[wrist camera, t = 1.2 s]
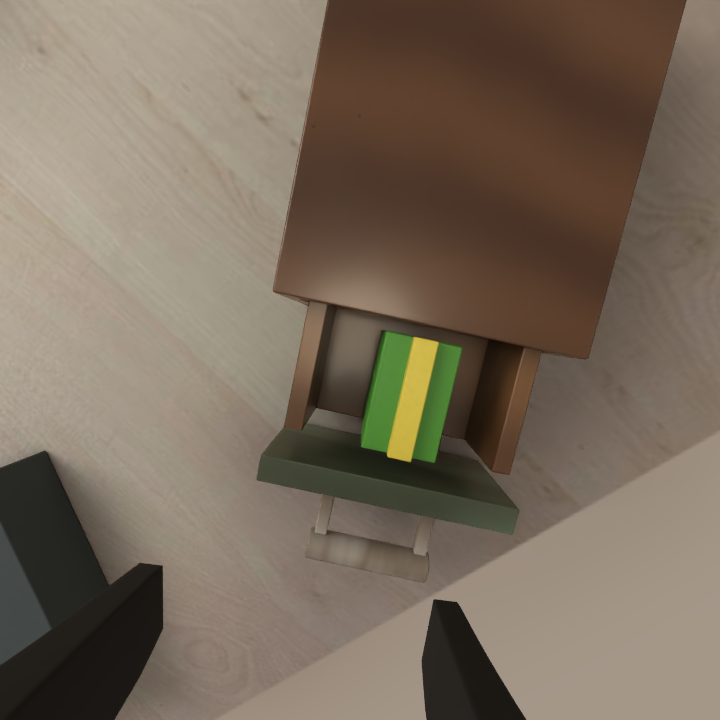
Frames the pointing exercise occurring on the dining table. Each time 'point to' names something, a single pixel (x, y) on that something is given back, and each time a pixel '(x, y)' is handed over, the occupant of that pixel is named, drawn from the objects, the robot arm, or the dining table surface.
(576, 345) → the cabinet
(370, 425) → the yellow-striped green block
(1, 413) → the dining table surface
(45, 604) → the dark grey square tile
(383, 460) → the drawer
